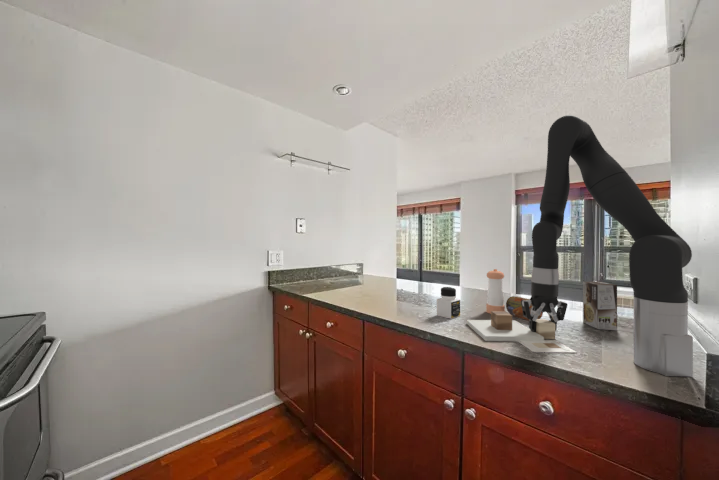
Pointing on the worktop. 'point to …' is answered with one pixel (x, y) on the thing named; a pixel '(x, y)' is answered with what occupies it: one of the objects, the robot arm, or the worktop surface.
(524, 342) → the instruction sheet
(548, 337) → the birch block
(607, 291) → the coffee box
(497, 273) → the pepper shaker
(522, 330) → the base plate
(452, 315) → the medicine bottle
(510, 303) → the tin
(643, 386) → the worktop surface
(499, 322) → the walnut block
